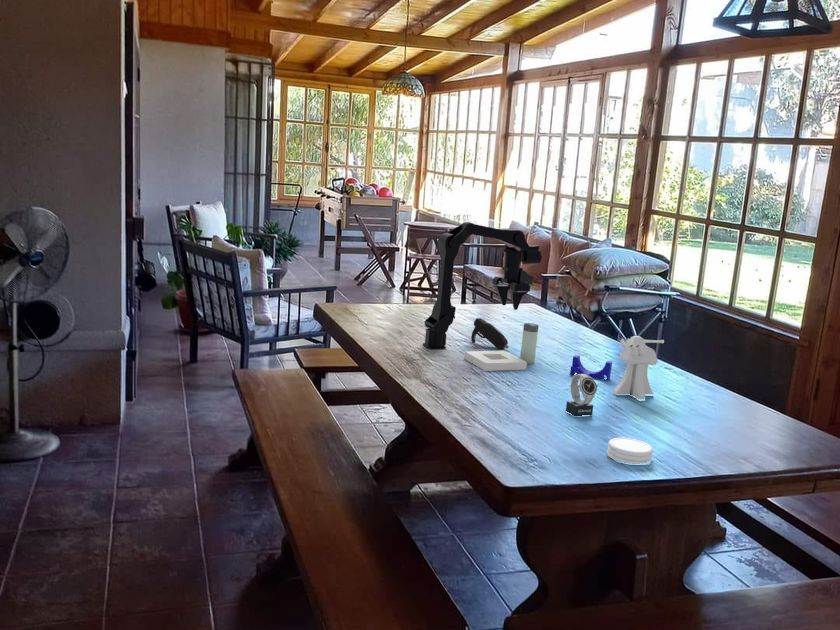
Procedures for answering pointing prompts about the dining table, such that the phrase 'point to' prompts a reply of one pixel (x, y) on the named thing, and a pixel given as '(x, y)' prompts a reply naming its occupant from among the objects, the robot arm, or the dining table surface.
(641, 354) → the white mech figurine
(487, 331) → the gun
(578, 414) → the watch
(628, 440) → the coaster
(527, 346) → the capped bottle
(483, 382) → the dining table surface
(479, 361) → the housing
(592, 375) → the blue cradle stand
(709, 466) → the dining table surface
